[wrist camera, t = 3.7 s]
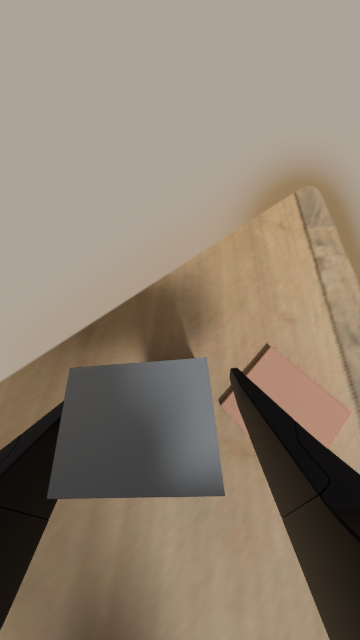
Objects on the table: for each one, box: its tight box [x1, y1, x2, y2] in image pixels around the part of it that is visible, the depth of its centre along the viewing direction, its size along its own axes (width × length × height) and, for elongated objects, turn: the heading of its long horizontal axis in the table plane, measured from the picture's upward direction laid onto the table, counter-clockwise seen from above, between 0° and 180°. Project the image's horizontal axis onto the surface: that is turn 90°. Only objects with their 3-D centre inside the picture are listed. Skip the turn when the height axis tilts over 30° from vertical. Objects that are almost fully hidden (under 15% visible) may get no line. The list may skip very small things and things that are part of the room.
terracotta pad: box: [220, 346, 351, 448], centre depth 13 cm, size 9×9×1 cm
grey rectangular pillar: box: [47, 357, 225, 499], centre depth 10 cm, size 4×5×12 cm
